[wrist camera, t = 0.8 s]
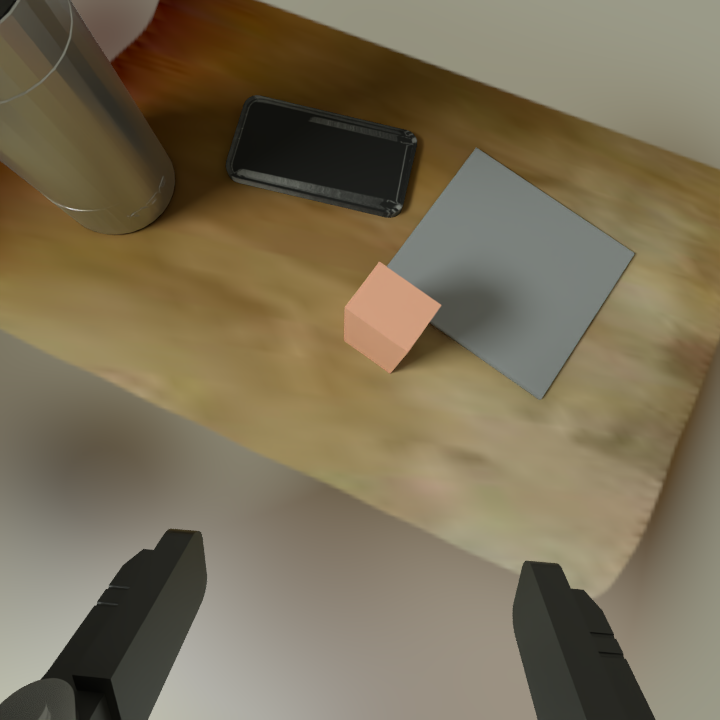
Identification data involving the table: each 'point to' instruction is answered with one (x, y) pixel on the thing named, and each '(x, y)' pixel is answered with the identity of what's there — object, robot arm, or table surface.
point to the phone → (322, 156)
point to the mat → (510, 271)
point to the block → (387, 317)
